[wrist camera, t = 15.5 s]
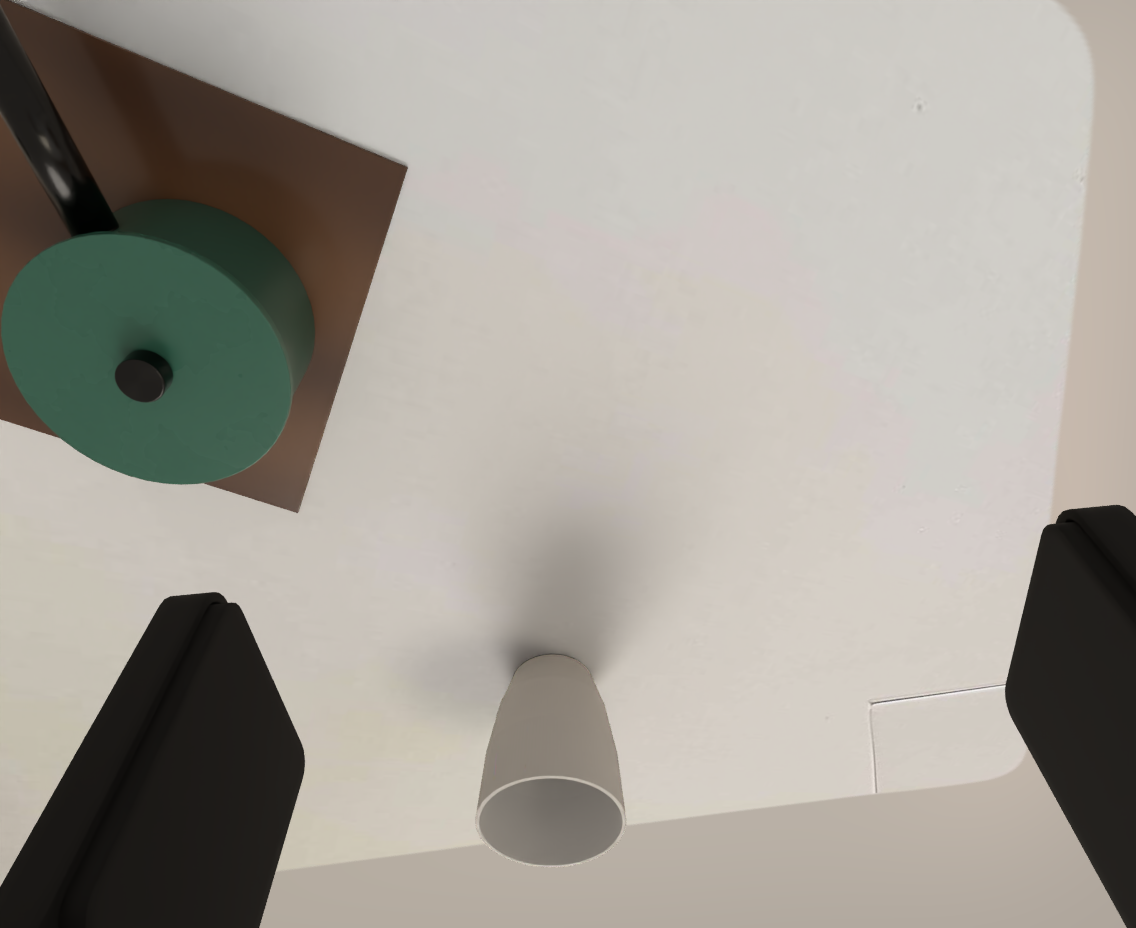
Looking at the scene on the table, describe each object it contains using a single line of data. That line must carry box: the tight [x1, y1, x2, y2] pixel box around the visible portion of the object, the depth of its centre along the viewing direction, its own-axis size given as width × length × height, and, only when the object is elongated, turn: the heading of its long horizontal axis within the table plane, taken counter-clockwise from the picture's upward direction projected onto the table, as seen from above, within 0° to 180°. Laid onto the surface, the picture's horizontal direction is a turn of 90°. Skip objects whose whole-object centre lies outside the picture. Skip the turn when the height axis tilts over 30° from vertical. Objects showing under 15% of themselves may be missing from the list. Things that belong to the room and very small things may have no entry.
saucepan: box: [0, 5, 315, 484], centre depth 35 cm, size 12×20×7 cm, turn 14°
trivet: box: [0, 0, 408, 513], centre depth 40 cm, size 20×18×1 cm
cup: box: [475, 655, 626, 867], centre depth 50 cm, size 8×8×10 cm
